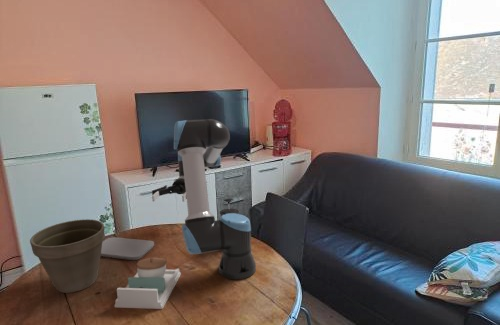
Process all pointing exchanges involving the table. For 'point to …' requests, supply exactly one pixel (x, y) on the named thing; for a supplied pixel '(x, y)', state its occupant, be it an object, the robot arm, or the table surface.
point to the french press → (228, 209)
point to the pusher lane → (147, 294)
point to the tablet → (125, 248)
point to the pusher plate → (147, 283)
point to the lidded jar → (151, 268)
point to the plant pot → (70, 253)
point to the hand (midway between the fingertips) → (168, 198)
